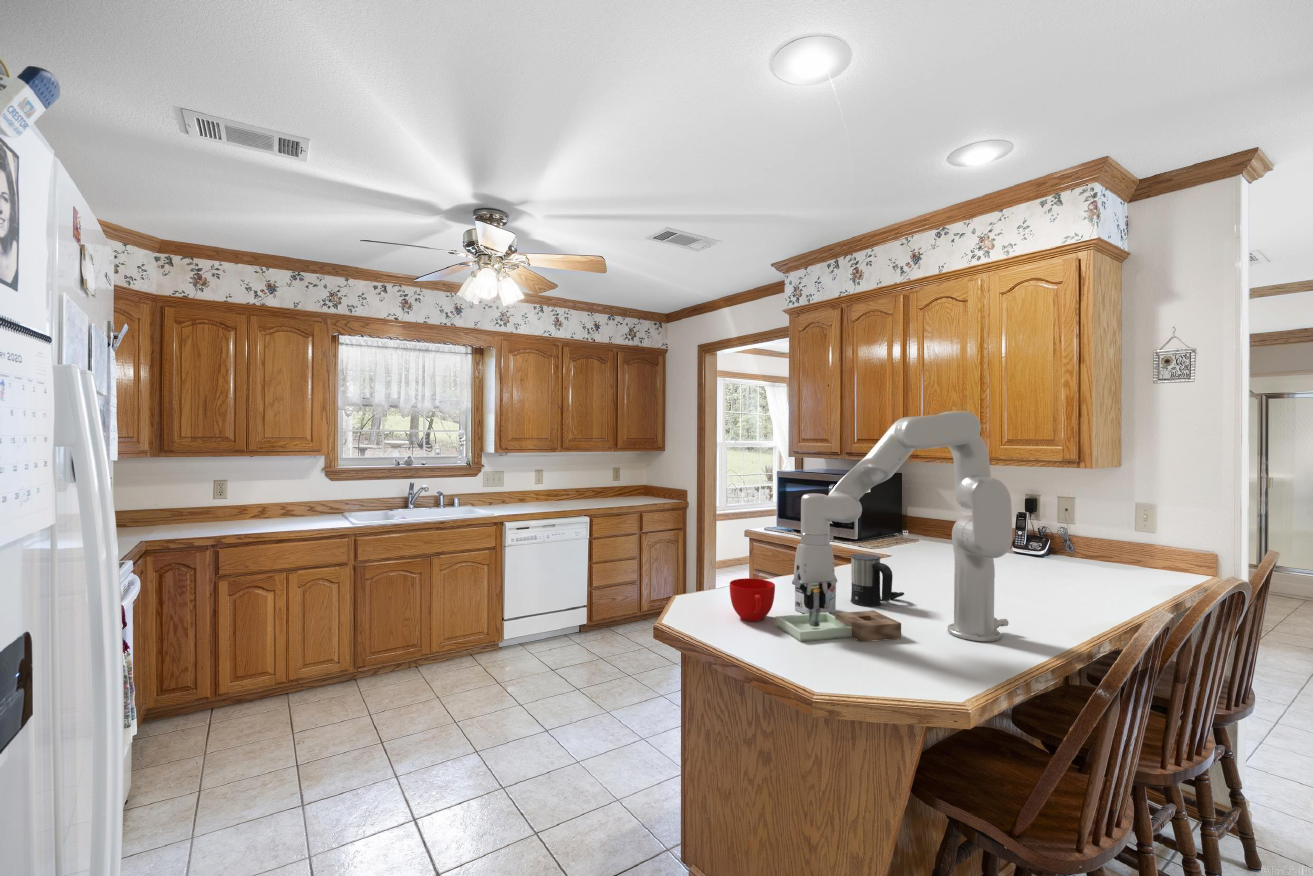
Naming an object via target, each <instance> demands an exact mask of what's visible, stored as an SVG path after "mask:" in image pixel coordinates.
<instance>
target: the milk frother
mask: <svg viewBox="0 0 1313 876" xmlns="http://www.w3.org/2000/svg"><path fill="white" fill-rule="evenodd" d="M850 558H851V560H850V563H851V564H850V565H851V571H850V572H851V574H850V575H851V596H850V603H852V604H854V605H857V606H863V607H876V606H881V605H882V602H884V601H885V602H887V601H890V600H891V601H893V600H895V599H897V598H901V597H903V596H904V595H905V592H903V591H901V592H897V591H893V571H892V569H891V567H890V566H889V565H888V564H886V563H882V562H881V559H882V556H880V555H876V554H869V553H854V554H851V555H850ZM881 576H882V581H881ZM881 582H882V583H881Z"/></svg>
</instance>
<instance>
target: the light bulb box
mask: <svg viewBox="0 0 1313 876" xmlns="http://www.w3.org/2000/svg"><path fill="white" fill-rule="evenodd" d="M800 583H801V584H803V582H802V581H801V580H800ZM811 587H818V583H812V586H811ZM836 592H837V583H835V584H834V585H832V586H831V587H830V588H829V590H828V592H827V593H826V603H825V608H824V609H822V608H820V613H826V612H832V613H836V608H837V606H836V605H837V604H836V603H837V602H836V601H837V600H836V599H837V597H836V596H837V593H836ZM794 610H795V611H797V612H799V613H801V614H803V613H804V614H809V609H808V608H806V607H805V605H804V592H802V590H801V589H800V588H799V587H797V586H795V585H794Z"/></svg>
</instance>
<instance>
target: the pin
mask: <svg viewBox="0 0 1313 876" xmlns="http://www.w3.org/2000/svg"><path fill="white" fill-rule="evenodd" d="M811 594H812V595H813V609H812V610H810V609H809V625H810V626H813V627H819V626H820V588H818V587H811Z"/></svg>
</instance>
